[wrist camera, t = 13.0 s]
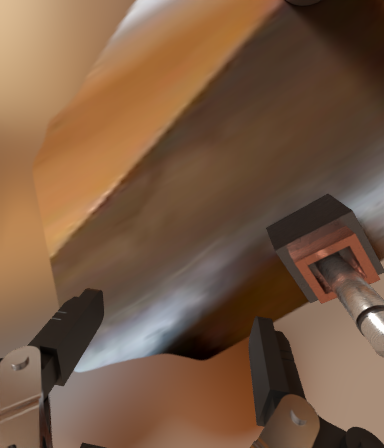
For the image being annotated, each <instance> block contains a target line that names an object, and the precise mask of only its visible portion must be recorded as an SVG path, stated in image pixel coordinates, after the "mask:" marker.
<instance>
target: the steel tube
mask: <svg viewBox="0 0 384 448" xmlns="http://www.w3.org/2000/svg"><path fill="white" fill-rule="evenodd" d="M315 265H316V268H317V269H318V271H319V272H320V273H321V275H322V276H323V278H324V279H325V280H326V282H327V283H328V285H329V286H330V288H331V289H332V290H333V292H334V293H335V295H336V296H337V298H338V299H339V300H340V302H341V303H342V305H343V306H344V307H345V309H346V310H347V312H348V313H349V315H350V316H351V317H352V319H353V320H354V321H355V323H356V325H357V327H358V329H359V330H360V332H361V333H362V335H364V336H365V337H366V339H367V340H368V341H369V343H370V344H371V345H372V347H373V349H374V350H375V351H376V353H377V354H378V355H380V356H382V357H384V300H383V299H382V298H381V297H380V296H379V294H378V293H377V292H376V291H375V290H374V289H373V288H372V287H371V286H370V285H369V284H368V283H367V282H366V281H365V280H364V279H363V278H362V277H361V276H360V275H359V274H358V273H357V272H356V270H355V269H354V268H353V267H352V266H351V265H350V264H349V263H348V262H347V261H346V260H345V259H344V258H343V257H342V256H341V255H340V254H339V253H338V252H335V253H333V254H331V255H329V256H326V257H324V258H322V259H320V260H318V261H316V262H315Z"/></svg>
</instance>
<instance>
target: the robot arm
mask: <svg viewBox="0 0 384 448" xmlns="http://www.w3.org/2000/svg"><path fill="white" fill-rule="evenodd" d="M286 1H288V2H290V3H292V4H294V5H299V6H306V5H312V4H315V3H318V2H320V1H321V0H286ZM103 317H104V304H103V292H102V291H101V290H96V289H90V288H87V289H85V290H84V292H83V293H82V294H81V295H80V297H73V298H71V299H70V300H68V301H67V302H65V303H64V304H63V305H62V307H61V308H60V309H59V310H58V312H56V313H55V315H54V316H53V317H52V319H50V320H49V321H48V323H47V324H46V325H45V326H44V327H43V328H42V330H41V331H40V332H39V333H38V334H37V335H36V336H35V338H34V339H33V340H32V341H31V342H30V343H29V344H28V345H27V346H24V347H21V348H18V349H15V350H14V351H12V352H10V353H9V354H8V355H7V356H5V357H4V358H0V448H53V443H52V429H51V428H52V427H51V409H50V394H49V393H50V391H51V390H52V388H53V387H54V385H59V386H64V385H65V383H66V381H67V380H68V378H69V376H70V375H71V373H72V372H73V370H74V368H75V367H76V365H77V363H78V362H79V360H80V358H81V357H82V355H83V353H84V352H85V350H86V348H87V347H88V345H89V343H90V342H91V340H92V338H93V337H94V335H95V333H96V332H97V330H98V328H99V327H100V325H101V323H102V320H103ZM249 358H250V367H251V376H252V385H253V395H254V403H255V412H256V422H257V425H258V426H264V429H263V431H262V432H261V434H260V436H259V437H258V439H257V440H256V441H254V442H253V444H252V445H251V447H250V448H384V444H383V443H382V442H381V441H380V440H379V439H378V438H377V437H376V436H375V435H373V434H372V433H370V432H369V431H367V430H365V429H363V428H359V427H352V428H350V429H348V431H347V432H346V431H344V430H342V429H340V428H338V427H336V426H334V425H332V424H331V423H329V422H327V421H325V420H324V419H322V418H321V417H319V415H317V413H316V411H315V409H314V408H313V407H312V405H311V404H310V403H309V402H307V400H306V398H305V395H304V391H303V388H302V385H301V381H300V378H299V375H298V371H297V368H296V365H295V363H294V358H293V354H292V351H291V347H290V344H289V341H288V340H287V338H286V337H285V336H284V334H283V333H282V332H280V331H275V330H274V326H273V321H272V319H269V318H263V317H257V316H256V317H255V320H254V324H253V327H252V331H251V335H250V338H249ZM80 448H105V447H100V446H96V445H91V444H86V443H82V444H81V447H80Z"/></svg>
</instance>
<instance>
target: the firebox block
mask: <svg viewBox="0 0 384 448" xmlns="http://www.w3.org/2000/svg"><path fill="white" fill-rule="evenodd" d="M266 229H267V232H268V234H269V237H270V239H271V242H272V244H273V247H274V249H275V252H276V253H277V254H278V256H279V257H280V259H281V260H282V262H283V263H284V265H285V266H286V268H287V269H288V271H289V272H290V274H291V275H292V277H293V278H294V280H295V281H296V283H297V284H298V286H299V287H300V288H301V290H302V291H303V293H304V294H305V296H306V297H307V299H308V300H309V302H310V303H312V302H314V301H317V300H319V301H320V303H325V302H327V301H329V300H332V299H335V298H337V296H336V295H335V293H334V292H333V290H332V289H331V288H330V286H329V285H328V283H327V282H326V280H325V279H324V278H323V276H322V275H321V273H320V272H319V271H318V269H317V268H316V265H315V262H316V261H318V260H320V259H322V258H324V257H326V256H329V255H331V254H333V253H335V252H338V253H339V254H340V255H341V256H342V257H343V258H344V259H345V260H346V261H347V262H348V263H349V264H350V265H351V266H352V267H353V268H354V269H355V270H356V272H357V273H358V274H359V275H360V276H361V277H362V278H363V279H364V280H365V281H366V282H367V283H368V284H371V283H374V282H376V281H378V280H380V278H379V276H378V275H379V274H382V273H384V269H383V267H382V265H381V263H380V261H379V259H378V257H377V255H376V254H375V252H374V250H373V248H372V246H371V244H370V242H369V241H368V239H367V237H366V235H365V233H364V231H363V229H362V227H361V226H360V224H359V222H358V220H357V218H356V216H355V214H354V213H353V211H352V210H351V209H349V208H348V207H346V206H345V205H344V204H342V203H341V202H339V201H338V200H336V199H335V198H334V197H332V196H331V195H329V194H327V195H325V196H323V197H321V198H319V199H318V200H316V201H314V202H312V203H310V204H309V205H307V206H305V207H303V208H301V209H300V210H298V211H296V212H294V213H292V214H291V215H289V216H287V217H285V218H283V219H282V220H280V221H278V222H276V223H274V224H273V225H271V226H269V227H267V228H266Z"/></svg>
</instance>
